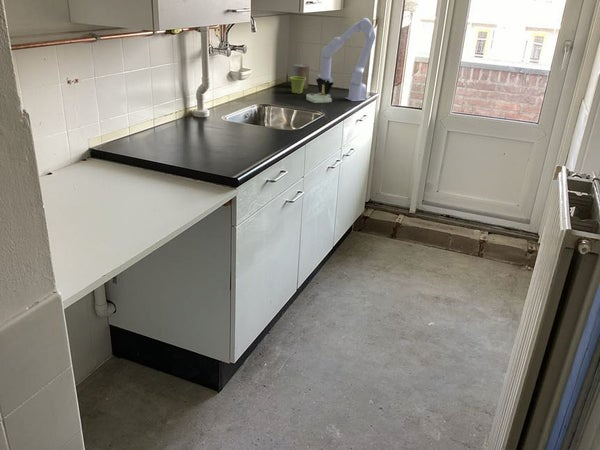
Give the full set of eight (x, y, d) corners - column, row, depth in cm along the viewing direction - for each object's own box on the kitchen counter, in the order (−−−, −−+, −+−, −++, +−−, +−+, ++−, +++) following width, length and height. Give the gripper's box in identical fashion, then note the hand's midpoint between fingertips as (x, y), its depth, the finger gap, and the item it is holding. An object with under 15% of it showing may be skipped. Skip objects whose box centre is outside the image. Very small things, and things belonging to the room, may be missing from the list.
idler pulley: (314, 95, 311) (314, 92, 310) (320, 98, 305) (320, 94, 305) (303, 96, 308) (304, 92, 307) (309, 98, 302) (310, 95, 301)
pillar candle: (310, 87, 331) (312, 63, 325) (303, 90, 324) (304, 64, 317) (297, 85, 336) (298, 61, 329) (289, 87, 328) (290, 62, 322)
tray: (323, 98, 305) (323, 95, 304) (331, 102, 298) (331, 98, 297) (306, 99, 300) (306, 96, 299) (314, 103, 293) (314, 99, 292)
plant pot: (306, 94, 313) (307, 79, 309) (291, 94, 310) (291, 79, 307) (302, 91, 321) (303, 76, 317) (287, 91, 318) (288, 76, 315)
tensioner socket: (325, 95, 313) (325, 93, 312) (330, 97, 308) (330, 95, 307) (316, 96, 310) (316, 93, 309) (321, 98, 305) (321, 95, 305)
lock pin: (324, 96, 311) (325, 84, 308) (327, 97, 308) (328, 85, 305) (319, 96, 310) (320, 84, 306) (322, 97, 307) (323, 85, 304)
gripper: (313, 66, 306) (311, 90, 312) (326, 71, 295) (324, 95, 300) (323, 66, 309) (322, 90, 315) (337, 70, 298) (334, 95, 304)
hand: (323, 92), depth 308 cm, fingers open, 6 cm apart
